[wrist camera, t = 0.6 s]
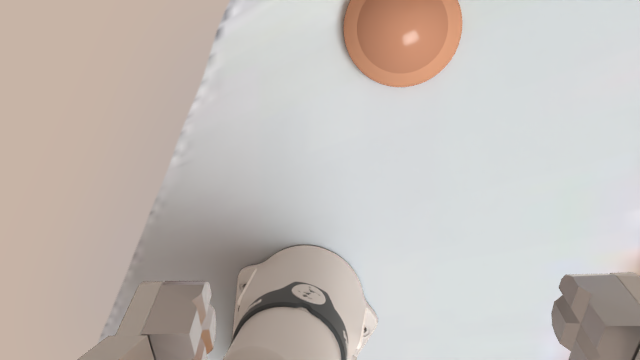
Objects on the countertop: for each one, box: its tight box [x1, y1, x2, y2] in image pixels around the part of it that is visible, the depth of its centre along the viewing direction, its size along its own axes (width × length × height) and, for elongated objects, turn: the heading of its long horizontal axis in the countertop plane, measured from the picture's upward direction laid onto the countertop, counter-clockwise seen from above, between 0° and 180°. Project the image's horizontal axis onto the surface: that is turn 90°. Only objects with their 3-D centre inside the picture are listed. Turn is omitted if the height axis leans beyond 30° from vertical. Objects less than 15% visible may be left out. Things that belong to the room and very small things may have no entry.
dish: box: [344, 0, 462, 87], centre depth 54 cm, size 13×13×1 cm
